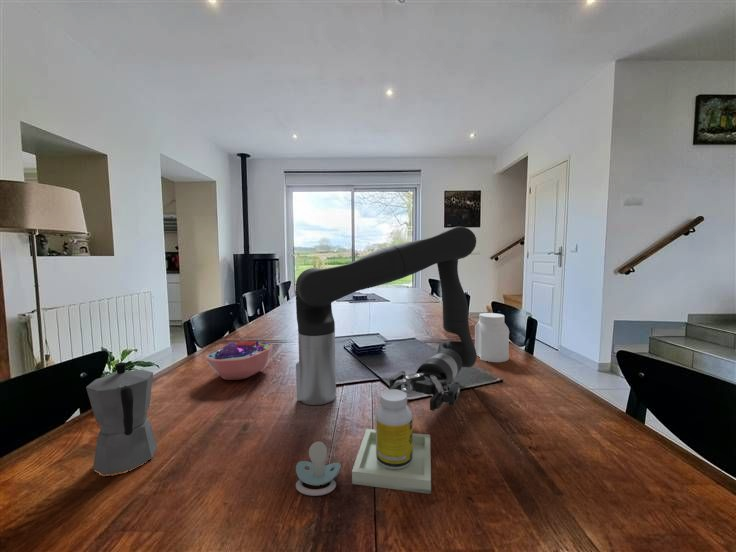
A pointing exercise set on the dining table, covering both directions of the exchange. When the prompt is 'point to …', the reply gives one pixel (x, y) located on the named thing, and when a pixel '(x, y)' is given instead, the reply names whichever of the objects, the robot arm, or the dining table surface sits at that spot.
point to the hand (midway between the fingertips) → (410, 400)
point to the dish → (405, 479)
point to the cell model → (239, 359)
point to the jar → (492, 338)
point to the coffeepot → (122, 419)
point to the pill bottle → (394, 430)
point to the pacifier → (316, 471)
